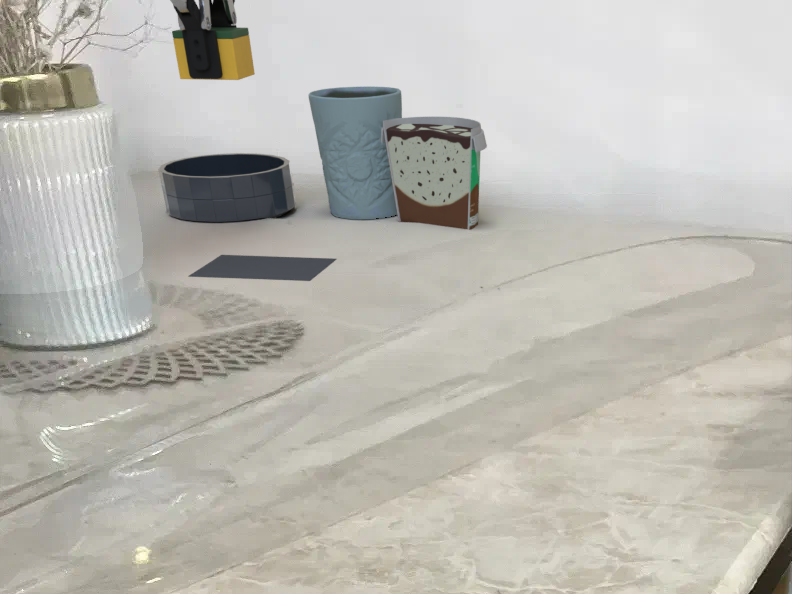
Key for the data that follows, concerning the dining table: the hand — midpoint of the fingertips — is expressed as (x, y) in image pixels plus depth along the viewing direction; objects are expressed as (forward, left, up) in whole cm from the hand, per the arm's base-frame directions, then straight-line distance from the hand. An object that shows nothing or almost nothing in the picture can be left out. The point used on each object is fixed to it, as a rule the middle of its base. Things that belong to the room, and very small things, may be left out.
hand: (216, 72), depth 112 cm
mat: (+8, -14, -15) cm, 22 cm away
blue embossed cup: (+10, +13, -15) cm, 22 cm away
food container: (+21, +8, -15) cm, 27 cm away
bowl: (-5, +10, -15) cm, 19 cm away
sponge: (0, 0, 0) cm, 0 cm away
